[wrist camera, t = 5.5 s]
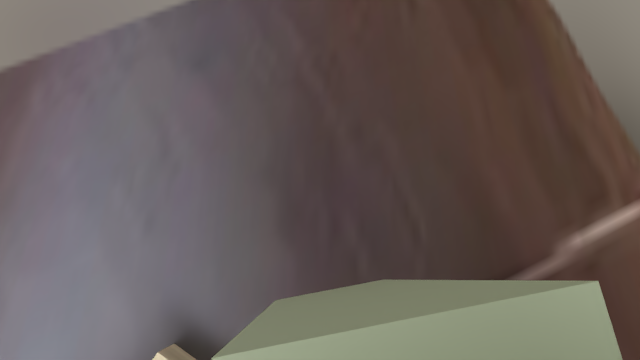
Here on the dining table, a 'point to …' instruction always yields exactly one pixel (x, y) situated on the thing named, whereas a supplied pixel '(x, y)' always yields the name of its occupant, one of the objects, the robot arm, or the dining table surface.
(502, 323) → the sage block
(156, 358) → the maple base
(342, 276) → the dining table surface
